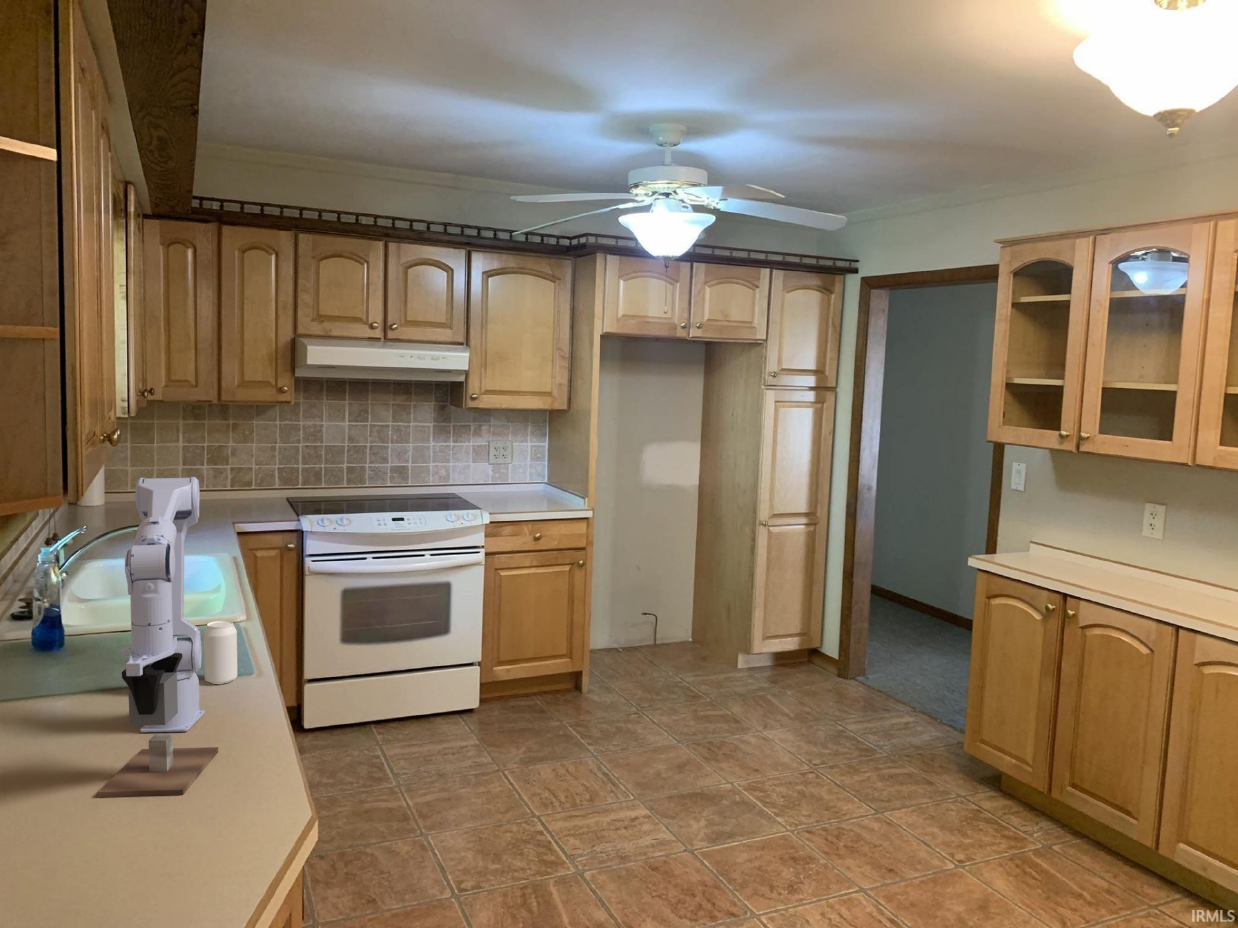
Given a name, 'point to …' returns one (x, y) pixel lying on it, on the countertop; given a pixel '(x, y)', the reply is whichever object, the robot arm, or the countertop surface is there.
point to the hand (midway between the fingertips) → (154, 707)
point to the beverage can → (220, 652)
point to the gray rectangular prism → (158, 703)
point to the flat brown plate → (159, 770)
